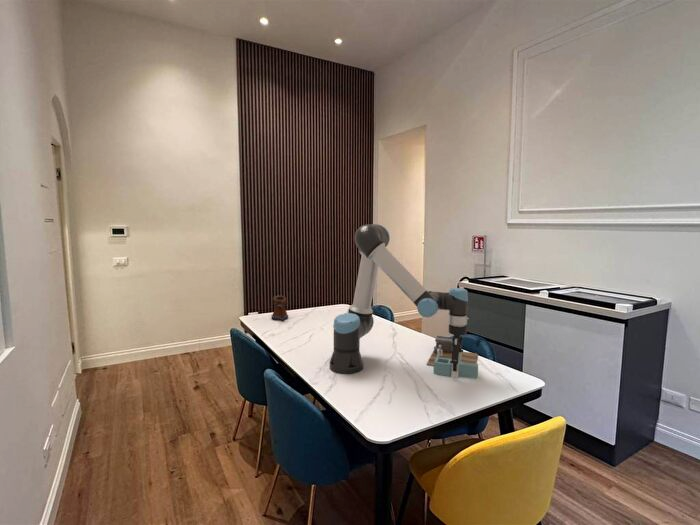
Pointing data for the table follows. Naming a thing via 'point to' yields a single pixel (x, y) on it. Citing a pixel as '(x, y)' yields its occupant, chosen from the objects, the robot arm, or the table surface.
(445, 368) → the link
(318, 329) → the table surface
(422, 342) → the table surface
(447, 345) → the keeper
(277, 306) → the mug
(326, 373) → the table surface
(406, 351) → the table surface
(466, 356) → the board
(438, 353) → the peg
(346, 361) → the robot arm
